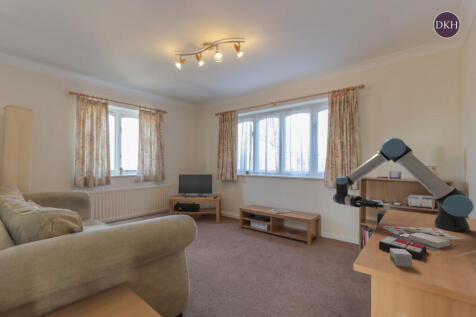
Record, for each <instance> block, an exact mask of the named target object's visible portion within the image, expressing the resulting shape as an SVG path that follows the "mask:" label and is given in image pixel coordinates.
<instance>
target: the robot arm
mask: <svg viewBox="0 0 476 317" xmlns="http://www.w3.org/2000/svg"><path fill="white" fill-rule="evenodd" d="M390 161H392V162H393V163H394V164H399V165H400V166H402V167H403V168H404V170H406V171H407V172H408V173H409V174H410V175H411V176H412V177H413V178H414V179H415V180H417V181H418V182H419V184H421V185H422V186H423V187H424V188H425V190H427V191H429V193H430V194H432V196H433V197H432V199H433V200H434V201H435V202H436V203H437V208H438V209H437V215H436V218H435V220H434V227H436V228H438V229H441V230H445V231H451V232H459V233H460V232H462V233H468V232H471V227H470V225H469V222H468V220H467V217H466V216H468V215H470V214H471V213H472V212H473V211H474V202H472V200H471V198H469V197H467V196H466V192H465V190H459V189H457V187H455V186H450V185H448V184H447V182H445V181H443V179H441V178H440V177H439V176H438V175H437V174H436V173H435V172H433V171H432V170H431V169H430V168H429V167H428V166H427V165H425V164H424V163H423V162H422V161H421V160H420V159H419V158H418V157H416V156H415V155H414V154H413V149H412V148H410V147H409V146H408V145H407V144H406V143H405V142H404V141H403V139H401V138H397V137H391V138H388V139H387V140H385V141H384V142H383V143H382V145H381V148H380V149H379V150H377V153H376V154H374V156H372V157H370V158H369V159H367V161H365V162H363V164H361V165H360V166H358V167H357V168H356V169H354V170H352V171H351V172H350V173H349V174H347V175H346V176H337V177H335V189H336V190H335V191H336V192H334V194H333V195H332V200H333V202H334V203H336V204H339V205H343V206H349V207H350V208H352V207H354V208H357V209H359V208H361V207H366V208H367V207H368V208H375V209H384V210H387V211H388V210H390V211H391V210H392V208H391V206H392V205H391V204H389V203H382V202H381V201H376V200H371V199H366V198H362V196H360V195H354V194H349V188H350V187H351V186H353V185H355V183H357V182H359V181H360V180H362V179H364V177H366V176H367V175H369V174H370V173H372V172H373V171H374V170H376V169H378V168H379V167H380V166H382V165H383V164H384V163H386V162H387V163H388V162H390Z"/></svg>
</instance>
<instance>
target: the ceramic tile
mask: <svg viewBox="0 0 476 317" xmlns="http://www.w3.org/2000/svg"><path fill="white" fill-rule="evenodd" d="M409 240H412V241H415V242H418V243H421V244H425V245H428V246H431V247H435V248H442V247H446V246H450V243H451V242H450V239H446V238H443V237H439V236H435V235H432V234H427V233H424V232H415V234H409Z"/></svg>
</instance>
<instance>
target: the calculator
mask: <svg viewBox="0 0 476 317" xmlns="http://www.w3.org/2000/svg"><path fill="white" fill-rule="evenodd" d="M389 236H390V235H388V236H386V237H384V238H383V239H381V240H380V241H378V242H379V243H378V250H381V251H385V252H389V253H390V248H395V249H405V250H406V251H407V252H409V253H410V254H411V255H412V259H415V260H418V261H422V259H423V258H424V256H425V254H427V250H428V249H427V248H426V247H425V246H423V245H420V244H416V243H412V242H409V241H405V240H401V239H396V238H392V237H389Z"/></svg>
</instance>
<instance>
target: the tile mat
mask: <svg viewBox="0 0 476 317" xmlns="http://www.w3.org/2000/svg"><path fill="white" fill-rule="evenodd" d="M406 233H407V234H415V233H416V232H415V233H413V232H406ZM402 234H403V233H399V234H395V235H394V234H393V235H388V236H389V237H392V238H396V239H401V240H405V241H409V242H412V243H416V244H420V245H423V246H425V247H426V248H427V250H428V251H429V250H430V251H433V252H437V251H442V250H445V249H449V248H453V247H458V246H459V245H457V244H455V243H451V242H450V246H446V247H442V248H435V247H431V246H428V245H425V244H421V243H418V242H415V241H412V240H409V237H404V236H400V235H402Z"/></svg>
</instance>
